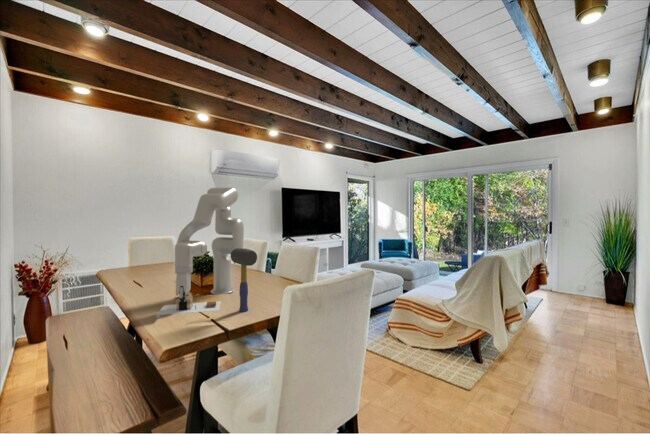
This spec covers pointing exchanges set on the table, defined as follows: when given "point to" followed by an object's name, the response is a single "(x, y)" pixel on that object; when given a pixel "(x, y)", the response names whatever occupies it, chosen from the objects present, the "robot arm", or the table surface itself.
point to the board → (195, 308)
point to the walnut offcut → (210, 304)
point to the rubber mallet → (243, 272)
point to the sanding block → (189, 302)
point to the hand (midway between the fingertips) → (184, 307)
